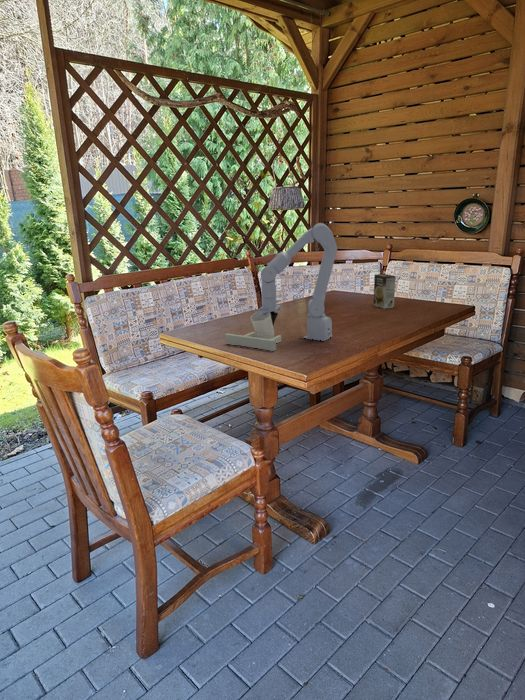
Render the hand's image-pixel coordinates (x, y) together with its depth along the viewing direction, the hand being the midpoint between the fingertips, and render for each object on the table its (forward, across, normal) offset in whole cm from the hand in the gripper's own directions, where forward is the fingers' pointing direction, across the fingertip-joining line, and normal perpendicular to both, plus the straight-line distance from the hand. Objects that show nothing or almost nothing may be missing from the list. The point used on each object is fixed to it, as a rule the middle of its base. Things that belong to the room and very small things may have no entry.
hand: (269, 330), depth 189 cm
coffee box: (+3, -77, +20) cm, 79 cm away
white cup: (+2, +3, 0) cm, 4 cm away
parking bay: (+3, +8, 0) cm, 9 cm away
